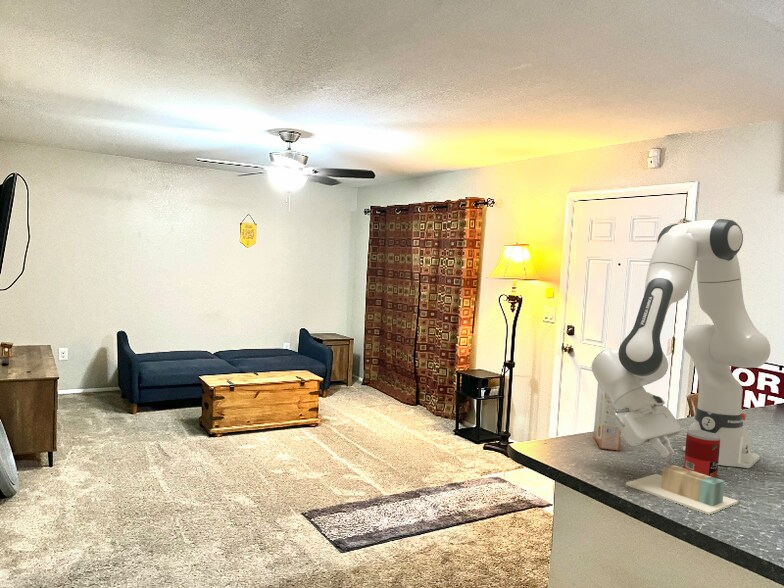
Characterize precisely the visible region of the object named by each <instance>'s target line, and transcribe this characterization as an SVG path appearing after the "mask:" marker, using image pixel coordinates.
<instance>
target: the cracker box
mask: <svg viewBox="0 0 784 588" xmlns="http://www.w3.org/2000/svg"><path fill="white" fill-rule="evenodd" d="M596 390H597V391H596V401H595V403H596V404H595V413H594V415H595V416H594V425H593V434H592V435H593V438H594V440H595V442H596V444H597V445H598V447H599V449H601V450H602V449H603V450H607V449H608V451H615V450H616V451H617V452H620V448H621V447H620V446H621V436H622V435H621V434H622V432H621V431H620V429H619V427H618V424H617V419H616V418H615V411H616V409H615V407H614V406H613V404H612V401H611V399H610V397H609V396H608V395H607V394H606V393H605V392H604V391H603V389H602V388H601V386H600V385H599V383H598V382H597V389H596Z"/></svg>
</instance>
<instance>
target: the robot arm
mask: <svg viewBox="0 0 784 588" xmlns="http://www.w3.org/2000/svg"><path fill="white" fill-rule="evenodd" d="M742 230H743V229H742V228H741V226H740V225H739V224H738V223H737V222H736V221H735V220H733V219H725V218H719V219H700V220H694V221H689V222H684V223H679V224H678V223H674V224H671V225H668V226H666V227H664V228H663V229H662V230H661V231H660V232H659V234H658V236H657V242H656V246H655V248H654V250H653V253H652V255H651V258H650V262H649V265H648V268H647V273H646V278H645V285H644V293H643V298H642V300H641V303H640V307H639V309H638V313H637V315H636V318H635V322H634V325H633V326H632V329H631V330H630V332H629V333H628V335H627V336H626V337H625V338H624V339H623V341H622V342H621V344H620V346H619V348H616V349H614V348H606V349H604V350H602V351H600V353H598V354H597V355H596V357H595V358H594V359H593V360H592V362H591V371H592V374H593V376H594V378H595V379H596V381H597V384H598V383H599V385H600V386H601V388H602V389H603V391H604V392H605V393H606V394H607V395H608V396H609V397H610V399H611V401H612V404H613V406H614V407H615V409H616V411H615V418H616V419H617V424H618V427H619V429H620V431H621V434H622V436H623V438H624V440H625V441H626V443H628V444H629V445H630V446H631V447H635V446H639V445H643V444H650V445H651V447H652V448H654V449H655V450H656V451H657V452H658V453H659V454H660V455H661V456H662V457H663V458H667V457H670V456H673V455H674V454H675V450H674V449H673V448H672V445H671V442H670V439H669V438H673V437H675V436H677V435H678V434H680V432H682V428H681V425H680V423H679V422H678V421H677V419H676V417H675V416H674V414H673V413H672V412H671V410H670V409H669V408H668V407H667V406H665V403H666V402H665V400H664V399H663V398H662V397H661V396H659V395H655V394H653V393H650V392H647V391H646V389H645V388H644V386H646V385H649V384H652V383H654V382H657V381H659V380H661V379H662V378H664V377H665V376H666V374H667V371H668V368H669V362H668V359H667V356H666V355H665V353H664V352H663V348H662V344H661V333H662V331H663V327H664V324H665V320H666V316H667V313H668V310H669V308H670V306H671V305H672V304H673V303H677V302H679V301H681V300H683V299H684V298H685V296H686V295H687V293H688V291H689V289H690V286H691V284H692V281H693V278H694V273H695V269H696V281H697V283H696V284H697V292H698V293H697V295H698V303H699V304H698V305H699V307H700V309H701V311H703V312H704V314H706V315H707V316H708V318H710V320H711V321H712V324H710V323H709V324H708V323H707V324H705V323H703V324H696V325H692V326H690V327H689V328H688V329H687V330H686V331H685V333H684V335H683V339H682V345H683V348H684V350H685V351H686V353H687V354H688V355H689V357H690V358H691V360H692V362H693V364H694V366H695V370H696V374H697V379H698V397H697V399H698V400H697V407H695V411H694V419H695V421H694V422H693V423H690V425H689V430H701V431H707V432H711V433H714V434H717V435H719V436H720V450H719V461H718V466H723V467H724V466H726V467H738V468H745V469H751V468H752V467H753V466H754V465H755V464H756V463H757V462H758V461H759V460H761V459H760V458H761V457H760V455H759V454H757V453H755V452H752V442H753V441H752V438H751V436H750V435H749V434H748V433H747V431H746V430H745V429H744V427H743V426H744V421H746V419H747V414H746V413H742V412H741V411H742V403H743V390H744V389H743V387H742V384H741V383H740V382H739V381H738V379H737V378H736V377H734V375H733V373H732V369H731V366H732V367H736V368H743V369H745V368H746V369H747V368H749V369H750V368H751V369H752V368H759V367H762V366H763V365H764V364H765V363H767V361H768V359H769V358H770V356H771V344H770V341H769V340H768V338H767V337H766V336H765V335H764V334H763V333H761V331H760V330H759V329H757V327H756V326H755V325H754V323H753V321H752V320H751V318H750V315H749V314H748V311H747V309H746V305H745V301H744V295H743V285H742V276H741V275H742V274H741V267H740V263H739V258H738V253H739V252H740V250H741V249H742V245H743V244H744V243H743V241H744V236H743V231H742ZM696 263H697V264H696ZM695 267H696V268H695ZM685 447H686V445H682V451H684V452H685Z"/></svg>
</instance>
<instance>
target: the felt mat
mask: <svg viewBox="0 0 784 588" xmlns="http://www.w3.org/2000/svg"><path fill="white" fill-rule="evenodd" d="M661 484H662V475H661V474H658V473H654V474H651V475H648V476H647V475H646V476H643V477H640V478H637V479H634V480H631V481H627V482H625V486H628V487H631V488H633V489H636V490H638V491H641V492H644V493H647V494H649V495H652V496H654V497H657V498H660V499H663V500H665V499H666V501H669V502H672V503H674V504H676V503H677V505H679V504H680V506H682V505H683V506H682V507H685V508H687V507H688V509H691V510H693V511H695V512H698V511H699V513H701V512H702V513H701V514H704V513H705V514H704V515H707V514H708V515H707V516H711V515H713V513H714V514H715V513H716V514H717V513H718V512H721V511H723V510H725V508H726V509H728V508H731V507H733V506H736V505H738V504H739V500H736V499H733V498H731V497H727V496H724V495H723V502H722V503H719V504H717V505H714V506H710V505H707V504H704V503H701V502H699V501H696V500H693V499H690V498H687V497H684V496H682V495H679V494H676V493H673V492H670V491H667V490H664V489H662V488H661ZM735 504H736V505H735ZM732 505H733V506H732ZM730 506H731V507H730ZM722 509H723V510H722ZM720 510H721V511H720ZM710 514H711V515H710Z"/></svg>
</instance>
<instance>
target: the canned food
mask: <svg viewBox="0 0 784 588" xmlns="http://www.w3.org/2000/svg"><path fill="white" fill-rule="evenodd" d="M685 446H686V447H685V451H684V463H683V468H685V469H688V470H691V471H694V472H698V473H701V474H704V475H707V476H711V477H714V478H717V477H718V470H719V465H718V461H719V450H720V436H719V435H717V434H714V433H711V432H707V431H701V430H687V431H686V437H685Z"/></svg>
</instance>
